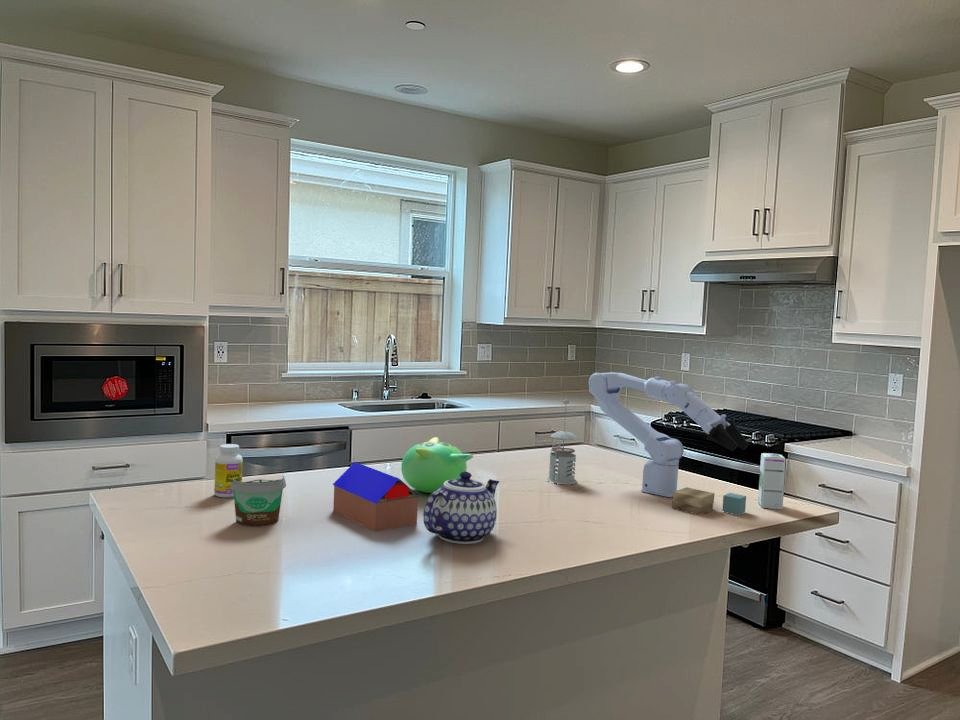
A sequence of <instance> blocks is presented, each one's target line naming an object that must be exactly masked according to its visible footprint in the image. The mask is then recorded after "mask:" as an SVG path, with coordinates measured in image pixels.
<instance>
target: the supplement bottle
mask: <svg viewBox="0 0 960 720" xmlns="http://www.w3.org/2000/svg"><path fill="white" fill-rule="evenodd" d="M239 451H240V445H239V444H236V443H224V444H220V445H219V453H220V454H218V455H217V456H216V458H215V460H214V462H215V464H214V466H215V467H214V486H213V488H214V491H213V492H214V495H215V496H216V497H218V498H222V499H223V498H224V499H230V498H234V491H233V490H232V489H231V488H230V486H231V482H233V479H234V480H236V481H239V482H243V462H244V460H243V456H242V455H241V454H239Z"/></svg>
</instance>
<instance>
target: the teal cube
mask: <svg viewBox="0 0 960 720" xmlns="http://www.w3.org/2000/svg"><path fill="white" fill-rule="evenodd" d="M746 503H747V496H746V495H742V494H737V493H732V492H728V493H726V494H723V497H722V511H724V512H723V513H726V512H728V513H727V514H730V513H733V514H732V515H735V514H738V515H737V516H740V515H739V514H741V515H742V513H743V514H744V512H745V513H746V507H747V506H746V505H747V504H746ZM722 511H721V512H722Z"/></svg>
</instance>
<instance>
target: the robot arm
mask: <svg viewBox="0 0 960 720" xmlns="http://www.w3.org/2000/svg"><path fill="white" fill-rule="evenodd" d="M624 387H625V388H629V389H633V390H639V391H644V393H645V394H646V396H647V397H649V398H653V399H658V400H660V401H665V402H667V403H668V404H670V405H672V406H677V407H678V408H679V409H681V410H682V412H683V413H684V414H686V415H687V416H688V417H689V418H690V419H691V420H692V421H694V422H695V423H696V424H697V425H698V426H700V428H701V430H702V431H704V433H706V434H707V436H706V438H705V439H706V440H707V441H711V442H713V443H716V444H718V445H720V446H722V447H724V449H727V450H729V451H731V452H734V451H735V450H736V448H737V447H738V448H739V449H741V450H743V451H745V449H746V448H747V447H748V446H749V443H748V441H747V440H746V438H745V437H744V436H743V435H742V433H741V432H740V429H739V427H738V425H737V423H736V422H735V421H732V422H731V423H729V422H728V421H726V417H727V415H726V414H725V413H724V414H721V415H719V413H717V412H716V411H715V410H714V409H712V408H711V407H710V406H709V405H708V404H707V403H706V402H705V401H703V400H702V398H699V396H697V395H696V394H695V393H694V392H693V391H694V390H693V388H692V387H691V386H690V385H689V384H687V383H685V382H681V383H676V380H670V381H669V380H665V379H662V377H661V376H654V377H650V378H649V379H643V378H640V377H637V376H634V375H630V374H626V373H624V372H614V371H610V372H594V373H592V374H591V375H590V377H589V378H588V392H589V393H590V394H591V395H592V396H594V399H595V401H596V403H597V405H598V406H599V408H600V410H601V411H602V412H603V413H604V414H606V415H607V416H608V417H609V418H610V419H612V421H615V422H616V423H617V424H618V425H619V426H621V428H623V429H624V430H626V432H629V434H631V436H634V437H635V439H637V441H639V442H641V443H642V444H643V445H644V448H643V449H644V451H645V452H647V454H649V456H650V457H649V458H651V460H647V461H646V462H645V463H644V465H643V470H642V481H641V482H642V483H641V485H642V486H641V489H640V491H641V492H642V493H648V494H652V495H656V496H657V495H658V496H662V497H666V498H673V492H675V491H677V490H678V478H679V463H680V459H681V458H682V456H683V454H684V451H685V450H684V445H683V444H682V442H681V441H680V440H679V439H677V438H673V437H670V436H669V435H667V434H665V433H662V432H659V431H657V430H656V429H654V428H653V427H652V426H651V425H649V423H647V422H645V421H644V420H643V419H642V418H640V417H639V416H638V415H636V414H635V413H634V412H633V411H631V410H630V409H628V408H627V407H626V406H625V405H624V404H622V403H621V402H620V401H619V399H620V394H621V389H622V388H624Z"/></svg>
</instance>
